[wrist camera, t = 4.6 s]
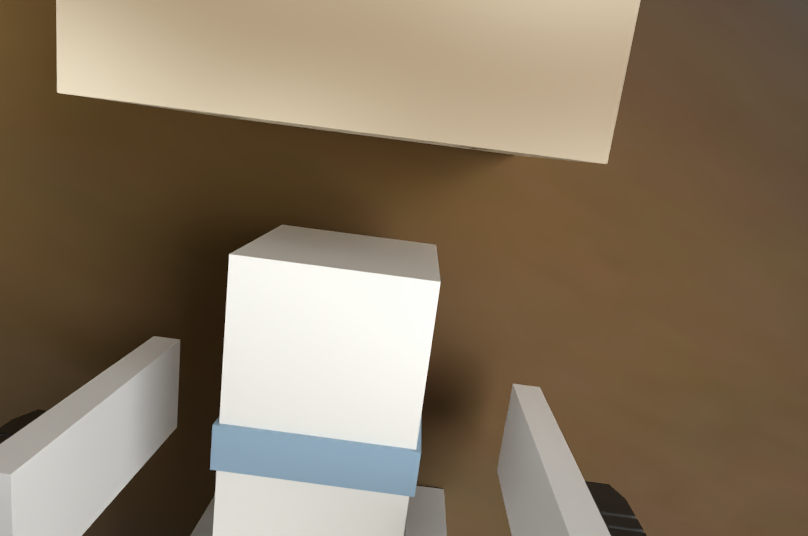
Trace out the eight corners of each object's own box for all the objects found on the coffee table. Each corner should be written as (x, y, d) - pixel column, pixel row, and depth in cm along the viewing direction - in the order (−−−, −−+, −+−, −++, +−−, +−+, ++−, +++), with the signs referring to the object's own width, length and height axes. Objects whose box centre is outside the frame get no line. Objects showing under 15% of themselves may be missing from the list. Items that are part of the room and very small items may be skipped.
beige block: (249, -31, 15) (53, -229, 7) (540, 6, 15) (671, -152, 7) (240, 119, 16) (56, 92, 8) (515, 155, 16) (607, 164, 8)
